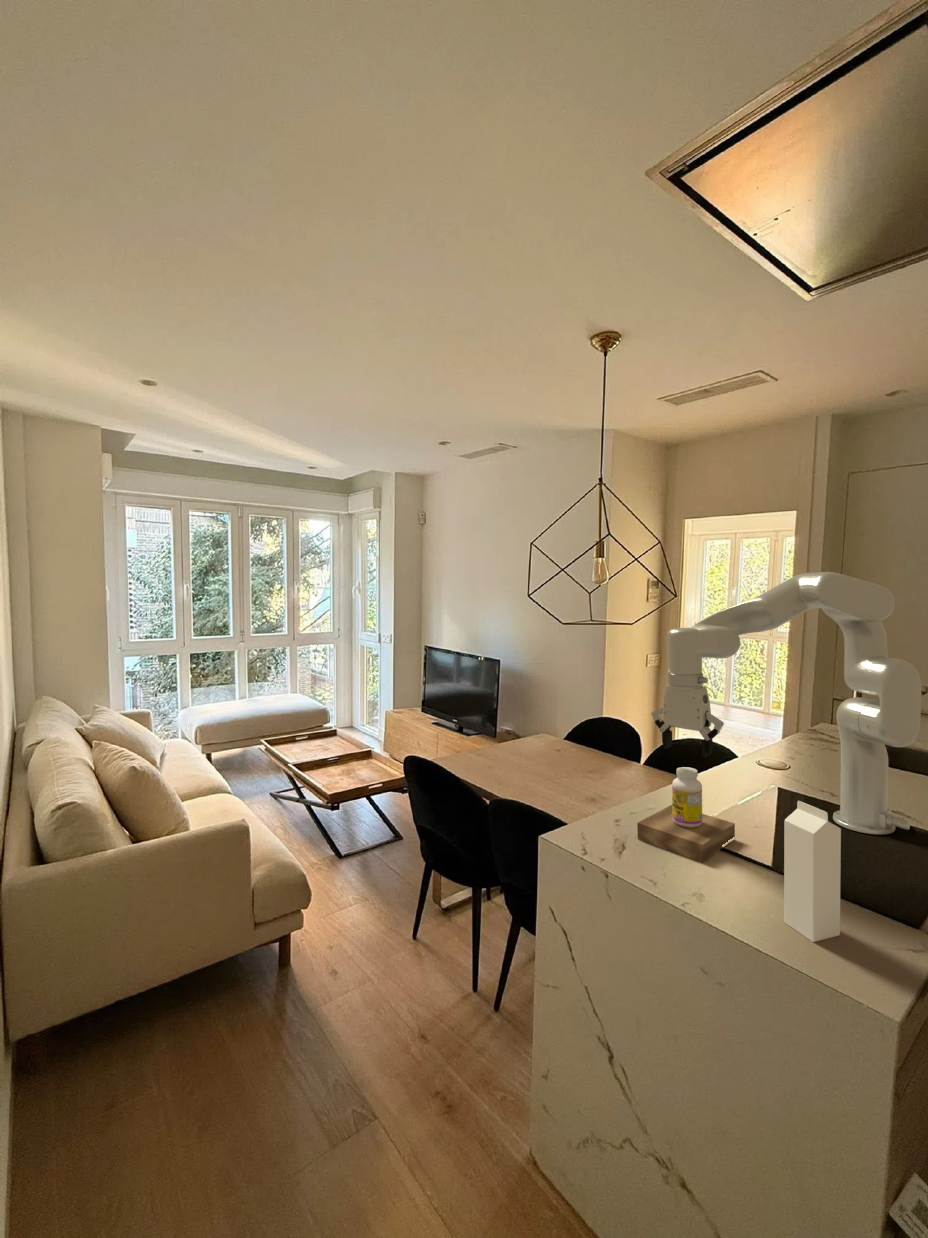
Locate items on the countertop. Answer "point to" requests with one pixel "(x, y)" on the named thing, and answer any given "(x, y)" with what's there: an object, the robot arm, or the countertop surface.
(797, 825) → the milk
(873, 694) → the robot arm
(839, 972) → the countertop surface
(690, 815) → the supplement bottle
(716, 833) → the plinth
